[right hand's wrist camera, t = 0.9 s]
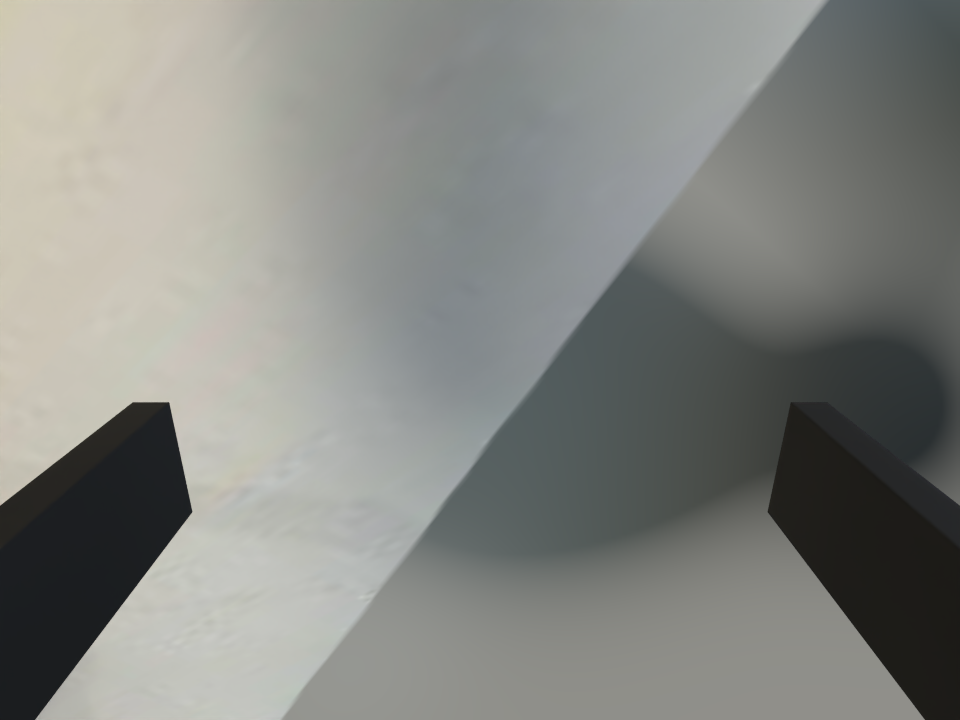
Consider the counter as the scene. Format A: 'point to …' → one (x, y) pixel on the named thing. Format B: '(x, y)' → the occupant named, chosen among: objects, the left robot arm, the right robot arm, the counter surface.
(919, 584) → the right robot arm
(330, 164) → the counter surface
